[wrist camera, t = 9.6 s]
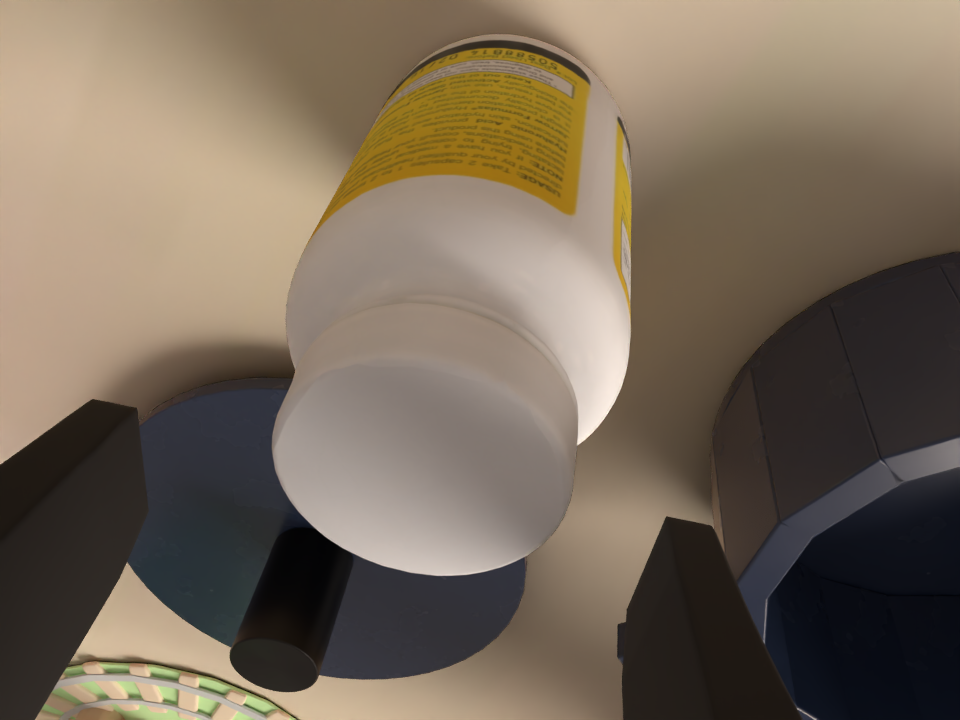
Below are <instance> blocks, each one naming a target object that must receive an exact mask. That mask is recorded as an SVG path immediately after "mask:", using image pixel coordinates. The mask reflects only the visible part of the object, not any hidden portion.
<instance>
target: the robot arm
mask: <svg viewBox="0 0 960 720" xmlns="http://www.w3.org/2000/svg"><path fill="white" fill-rule="evenodd" d="M148 512H149V509H148V500H147V491H146V482H145V473H144V465H143V456H142V447H141V438H140V429H139V421H138V412H137V408H134V407H129V406H124V405H120V404H115V403H110V402H105V401H100V400H95V399H92V400H91V401H89V402H87V403H86V404H84V405H83V406H82V407H80V408H79V409H77V410H76V411H74V412H73V413H72V414H70V415H69V416H67V417H66V418H65V419H63V420H62V421H60V422H59V423H58V424H56V425H55V426H54V427H52V428H51V429H49V430H48V431H47V432H45V433H44V434H43V435H41V436H40V437H38V438H37V439H36V440H34V441H33V442H32V443H30V444H29V445H27V446H26V447H25V448H23V449H22V450H20V451H19V452H18V453H16V454H15V455H13V456H12V457H11V458H9V459H8V460H6V461H5V462H4V463H2V464H1V465H0V720H35V719H36V717H37V716H38V714H39V712H40V711H41V709H42V707H43V706H44V704H45V702H46V701H47V699H48V697H49V696H50V694H51V692H52V691H53V689H54V687H55V686H56V684H57V682H58V681H59V679H60V677H61V676H62V674H63V672H64V671H65V669H66V668H67V666H68V664H69V663H70V661H71V659H72V658H73V656H74V654H75V653H76V651H77V649H78V648H79V646H80V644H81V643H82V641H83V639H84V638H85V636H86V634H87V633H88V631H89V629H90V628H91V626H92V624H93V622H94V621H95V619H96V617H97V616H98V614H99V612H100V611H101V609H102V607H103V606H104V604H105V602H106V601H107V599H108V597H109V595H110V594H111V592H112V590H113V589H114V587H115V585H116V583H117V582H118V580H119V578H120V576H121V574H122V571H123V569H124V567H125V565H126V563H127V560H128V558H129V556H130V554H131V552H132V549H133V547H134V545H135V543H136V540H137V538H138V535H139V533H140V531H141V528H142V526H143V524H144V521H145V519H146V517H147V514H148ZM622 698H623V720H803V719H802V717H801V715H800V713H799V711H798V709H797V707H796V706H795V704H794V702H793V700H792V698H791V696H790V694H789V692H788V690H787V688H786V686H785V684H784V682H783V680H782V678H781V676H780V674H779V672H778V670H777V668H776V666H775V664H774V662H773V660H772V658H771V656H770V654H769V652H768V650H767V648H766V646H765V644H764V642H763V640H762V638H761V636H760V633H759V631H758V629H757V627H756V625H755V623H754V621H753V618H752V616H751V614H750V612H749V609H748V607H747V605H746V603H745V600H744V598H743V596H742V594H741V591H740V589H739V587H738V584H737V582H736V580H735V577H734V575H733V573H732V570H731V568H730V565H729V563H728V561H727V558H726V556H725V553H724V551H723V548H722V546H721V543H720V541H719V538H718V536H717V533H716V532H715V530H714V529H713V527H712V526H710V525H705V524H701V523H696V522H691V521H686V520H681V519H676V518H671V517H666V518H665V521H664V523H663V525H662V528H661V530H660V532H659V535H658V537H657V540H656V542H655V544H654V547H653V549H652V551H651V554H650V556H649V558H648V561H647V563H646V566H645V568H644V570H643V573H642V575H641V577H640V580H639V582H638V585H637V587H636V589H635V592H634V594H633V596H632V599H631V601H630V603H629V606H628V608H627V615H626V628H625V641H624V656H623V673H622Z"/></svg>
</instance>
